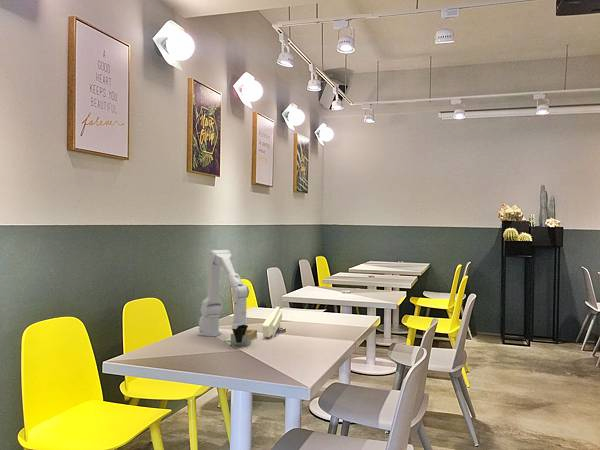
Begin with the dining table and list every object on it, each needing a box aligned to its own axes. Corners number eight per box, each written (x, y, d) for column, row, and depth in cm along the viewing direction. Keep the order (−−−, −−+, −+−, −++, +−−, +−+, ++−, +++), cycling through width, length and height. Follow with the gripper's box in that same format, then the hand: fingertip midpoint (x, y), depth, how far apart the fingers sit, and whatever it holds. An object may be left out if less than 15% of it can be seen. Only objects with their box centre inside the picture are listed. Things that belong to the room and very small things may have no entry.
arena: (224, 341, 238) (224, 333, 238) (233, 336, 250) (233, 328, 250) (248, 343, 235) (248, 335, 235) (256, 337, 247) (256, 330, 247)
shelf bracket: (284, 329, 269) (283, 306, 266) (272, 349, 245) (271, 325, 242) (274, 328, 270) (273, 306, 267) (261, 349, 246) (260, 324, 243)
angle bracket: (230, 345, 231) (230, 334, 231) (234, 342, 236) (234, 332, 236) (247, 346, 229) (247, 335, 229) (251, 344, 234) (251, 333, 234)
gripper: (242, 315, 223) (242, 346, 223) (253, 310, 237) (253, 339, 237) (227, 314, 224) (227, 345, 224) (239, 309, 238) (239, 338, 238)
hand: (239, 341), depth 231 cm, fingers closed on angle bracket
